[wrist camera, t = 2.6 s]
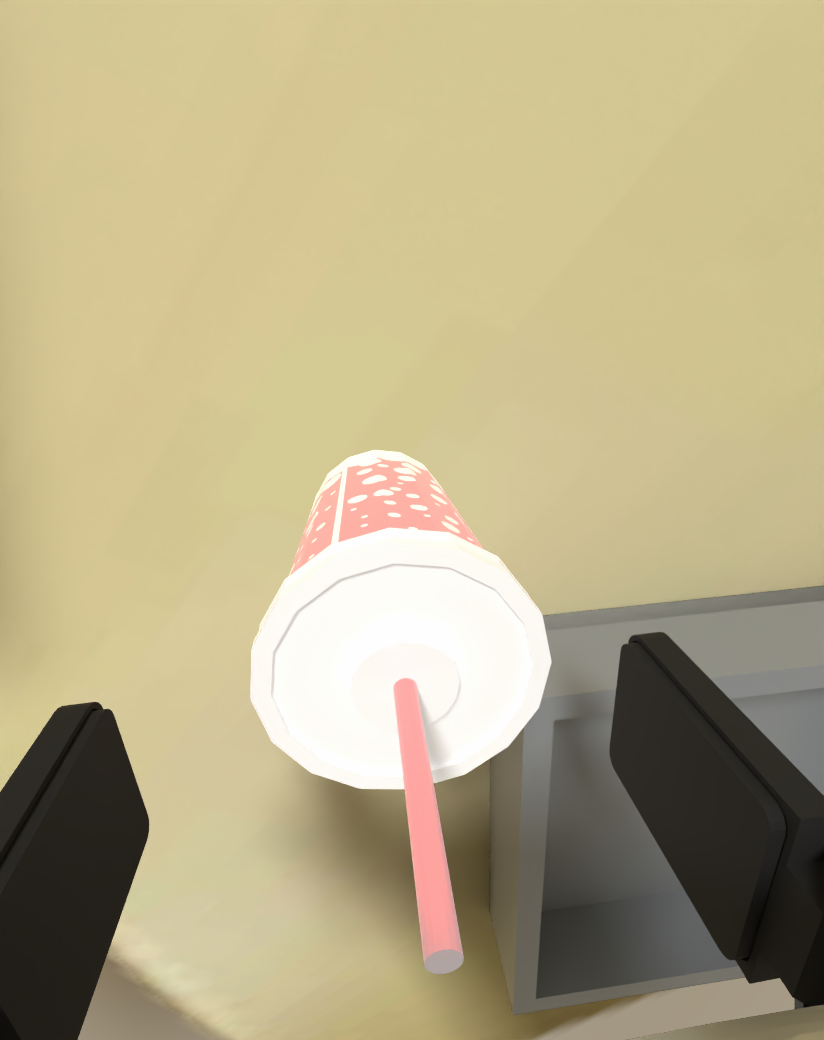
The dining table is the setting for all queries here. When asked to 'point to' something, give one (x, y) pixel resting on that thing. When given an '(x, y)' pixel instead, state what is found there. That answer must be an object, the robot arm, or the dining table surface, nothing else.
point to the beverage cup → (398, 657)
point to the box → (609, 809)
